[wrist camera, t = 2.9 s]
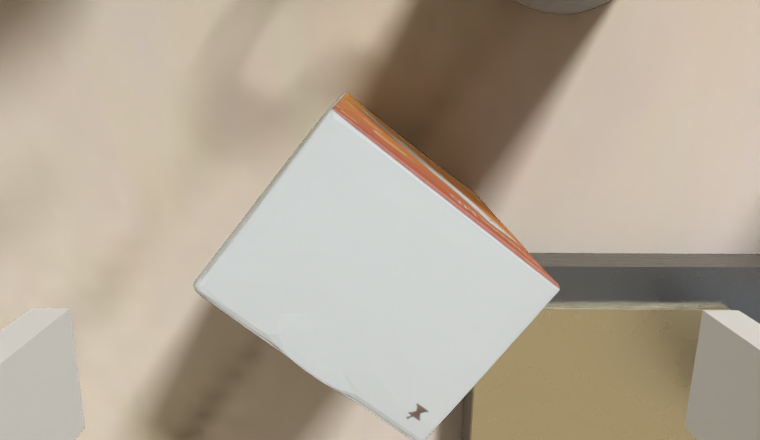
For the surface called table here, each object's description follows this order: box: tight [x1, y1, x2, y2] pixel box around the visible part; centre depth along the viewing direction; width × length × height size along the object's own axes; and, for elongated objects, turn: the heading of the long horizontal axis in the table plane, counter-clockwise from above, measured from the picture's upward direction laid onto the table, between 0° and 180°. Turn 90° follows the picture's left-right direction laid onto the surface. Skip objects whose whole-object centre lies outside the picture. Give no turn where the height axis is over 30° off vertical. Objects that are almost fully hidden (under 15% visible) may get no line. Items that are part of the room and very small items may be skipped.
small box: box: [194, 93, 560, 440], centre depth 22 cm, size 8×6×13 cm
